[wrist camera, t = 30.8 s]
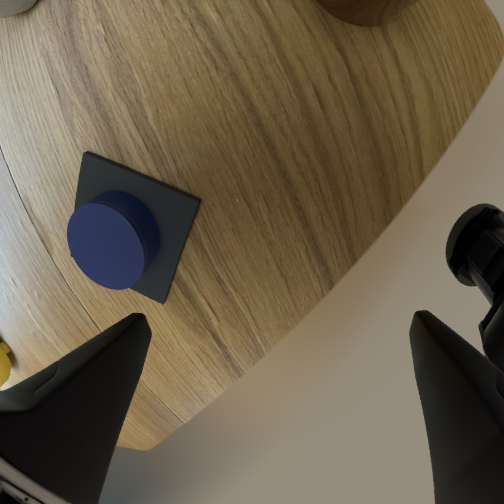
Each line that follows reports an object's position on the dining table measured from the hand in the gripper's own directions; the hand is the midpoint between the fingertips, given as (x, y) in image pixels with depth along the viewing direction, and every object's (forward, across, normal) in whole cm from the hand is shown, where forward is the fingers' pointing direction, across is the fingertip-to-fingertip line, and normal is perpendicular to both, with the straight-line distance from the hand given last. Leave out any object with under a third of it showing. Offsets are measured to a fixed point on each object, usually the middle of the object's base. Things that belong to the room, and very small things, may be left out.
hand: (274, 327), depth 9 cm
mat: (+12, +13, +1) cm, 17 cm away
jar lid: (+8, +13, +1) cm, 15 cm away
